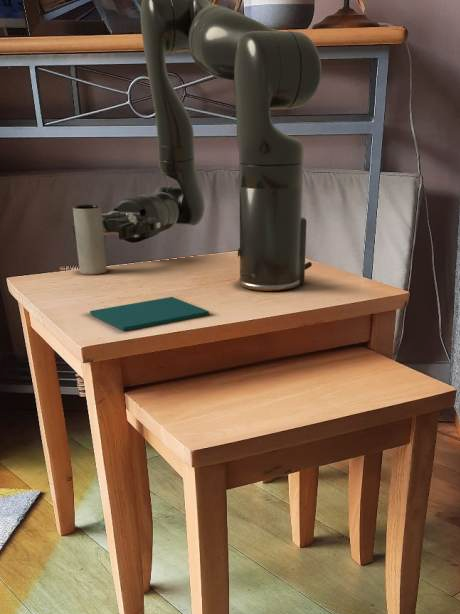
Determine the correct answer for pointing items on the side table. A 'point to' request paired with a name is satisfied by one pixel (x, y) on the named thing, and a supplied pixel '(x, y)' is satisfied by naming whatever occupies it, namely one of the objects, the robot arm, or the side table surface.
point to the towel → (148, 313)
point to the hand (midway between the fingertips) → (97, 231)
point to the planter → (90, 239)
